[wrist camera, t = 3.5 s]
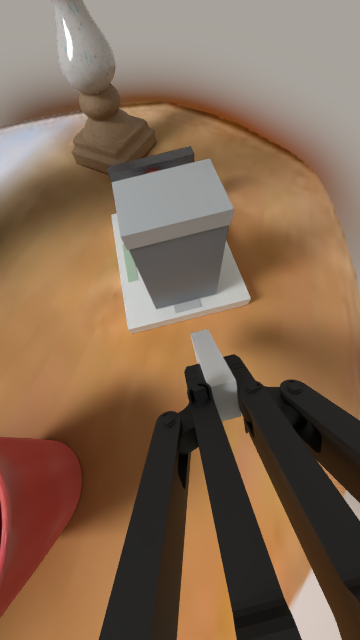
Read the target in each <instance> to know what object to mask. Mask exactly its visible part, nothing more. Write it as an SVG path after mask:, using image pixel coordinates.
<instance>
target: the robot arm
mask: <svg viewBox="0 0 360 640" xmlns="http://www.w3.org/2000/svg"><path fill="white" fill-rule="evenodd" d="M190 334H191V339H192V343H193V347H194V351H195V356H196V360H197V363H198V364H196V365H192V366H188V367H186V369H185V372H184V373H185V378H186V383H187V388H188V390H187V394H188V398H189V404H188V406H187V407H186V408H185V409H184V410H182V411H181V412H179V413H176V412H175V411H168V412H165V413H163V414H161V415H160V416H159V418H158V419H157V421H156V425H155V428H154V432H153V436H152V440H151V444H150V447H149V451H148V455H147V459H146V463H145V466H144V470H143V474H142V478H141V481H140V485H139V489H138V493H137V497H136V500H135V504H134V508H133V512H132V516H131V519H130V523H129V527H128V531H127V535H126V538H125V542H124V546H123V550H122V554H121V557H120V561H119V565H118V569H117V572H116V576H115V580H114V584H113V588H112V591H111V595H110V599H109V603H108V607H107V610H106V614H105V618H104V622H103V626H102V629H101V633H100V637H99V640H177V627H178V614H179V601H180V588H181V575H182V562H183V549H184V535H185V522H186V509H187V496H188V483H189V470H190V457H191V452H192V451H193V450H195V449H196V448H198V447H199V449H200V454H201V459H202V464H203V469H204V474H205V479H206V484H207V489H208V494H209V499H210V504H211V508H212V513H213V518H214V523H215V528H216V533H217V538H218V543H219V548H220V553H221V558H222V563H223V567H224V572H225V577H226V582H227V587H228V592H229V597H230V602H231V607H232V612H233V618H234V624H235V631H236V637H237V640H302V639H301V637H300V634H299V631H298V629H297V626H296V624H295V621H294V619H293V616H292V614H291V612H290V610H289V608H288V606H287V603H286V601H285V599H284V596H283V593H282V590H281V588H280V585H279V582H278V579H277V576H276V574H275V571H274V568H273V565H272V562H271V560H270V557H269V554H268V551H267V548H266V545H265V543H264V540H263V537H262V534H261V531H260V528H259V526H258V523H257V520H256V517H255V514H254V512H253V509H252V506H251V503H250V500H249V497H248V495H247V492H246V489H245V486H244V483H243V480H242V478H241V475H240V472H239V469H238V466H237V464H236V461H235V458H234V455H233V452H232V449H231V447H230V444H229V441H228V438H227V435H226V433H225V430H224V427H223V424H222V421H224V420H228V419H232V418H236V417H240V416H241V413H242V415H243V417H244V424H245V431H246V433H248V432H249V434H250V437H251V439H252V441H253V443H254V445H255V447H256V449H257V452H258V454H259V456H260V458H261V460H262V462H263V464H264V467H265V469H266V471H267V473H268V475H269V477H270V479H271V482H272V484H273V486H274V488H275V490H276V492H277V494H278V497H279V499H280V501H281V503H282V505H283V507H284V509H285V512H286V514H287V516H288V518H289V520H290V522H291V524H292V527H293V529H294V531H295V533H296V535H297V537H298V539H299V542H300V544H301V546H302V548H303V550H304V552H305V554H306V557H307V559H308V561H309V563H310V565H311V567H312V569H313V572H314V574H315V576H316V578H317V580H318V582H319V585H320V587H321V589H322V591H323V593H324V595H325V597H326V600H327V602H328V604H329V606H330V608H331V610H332V613H333V615H334V617H335V620H336V622H337V625H338V628H339V632H340V635H341V638H342V640H360V521H359V519H358V518H357V516H356V515H355V514H354V512H353V511H352V509H351V508H350V507H349V505H348V504H347V502H346V501H345V500H344V498H343V497H342V495H341V494H340V493H339V491H338V490H337V488H336V487H335V486H334V484H333V483H332V481H331V480H330V479H329V477H328V476H327V474H326V473H325V472H324V470H323V469H322V467H321V466H320V465H319V463H320V464H321V465H322V466H323V467H324V468H325V469H326V470H327V471H328V472H329V473H330V474H331V475H332V476H333V477H334V478H335V479H336V480H337V481H338V482H339V483H340V484H341V485H342V486H343V487H344V488H345V489H346V490H347V491H348V492H349V493H350V494H351V495H352V496H353V497H354V498H355V499H356V500H357V501H358V502H360V421H359V420H358V419H356V418H355V417H353V416H352V415H350V414H349V413H347V412H346V411H344V410H343V409H341V408H340V407H338V406H337V405H335V404H334V403H332V402H331V401H330V400H328V399H327V398H325V397H324V396H322V395H321V394H319V393H318V392H316V391H315V390H313V389H312V388H310V387H309V386H307V385H306V384H304V383H302V382H300V381H297V380H286V381H283V382H282V383H281V385H280V387H266V386H263V385H262V384H261V383H260V382H257V381H255V379H254V378H253V376H252V375H251V373H250V372H249V371H248V369H247V368H246V367H245V365H244V363H243V362H242V360H241V359H240V357H238V356H236V355H234V354H233V355H229V356H225V357H223V356H222V354H221V352H220V351H219V349H218V347H217V345H216V343H215V342H214V340H213V338H212V336H211V334H210V332H209V331H208V329H206V330H202V331H198V332H194V333H190ZM240 411H241V412H240ZM317 461H318V462H319V463H318V462H317Z"/></svg>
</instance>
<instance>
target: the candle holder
mask: <svg viewBox="0 0 360 640" xmlns="http://www.w3.org/2000/svg"><path fill="white" fill-rule="evenodd" d="M51 1H52V3H53V7H54V12H55V19H56V30H57V55H58V60H59V65H60V68H61V71H62V73H63V76H64V77H65V79H66V80H67V82H68V83H69V84H70V85H71V86H72V87H74V88H75V89H77V90H79V91H80V97H79V102H80V107H81V109H82V111H83V112H84V113H85V114H86V115H87V116H88V117H89V118H88V119H87V121H86V123H85V127H84V128H83V129H82V130H81V131H80V132H79V133H78V134H77V135H76V136H75V137H74V139H73V143H74V145H75V148H74V149H73V150H72V154H73V156H74V158H75V160H76V162H77V163H78V164H80V165H82V166H85V167H88V168H91V169H94V170H97V171H100V172H103V173H106V174H108V168H107V167H108V166H112V165H116V164H120V163H124V162H128V161H132V160H137V159H141V158H143V157H144V156H145V155H146V154H147V153H148V152H149V151H150V150H151V149H152V147H153V146H154V145H155V144H156V137H155V131H154V130H153V129H150V128H149V127H148V125H147V122H146V121H145V120H144V119H141V118H137V117H133V116H130V115H128V114H127V113H126V112H124V111H123V110H121V109H119V107H120V96H119V93H118V91H117V90H116V88H115V87H114V86H113V85H112V84H111V81H112V79H113V77H114V73H115V59H114V55H113V52H112V49H111V47H110V45H109V43H108V42H107V40H106V38H105V36H104V35H103V33H102V32H101V30H100V29H99V27H98V26H97V25H96V23H95V22H94V20H93V19H92V17H91V16H90V14H89V12H88V10H87V8H86V6H85V5H84V2H83V0H51Z"/></svg>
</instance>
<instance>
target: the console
mask: <svg viewBox="0 0 360 640" xmlns="http://www.w3.org/2000/svg"><path fill="white" fill-rule="evenodd" d="M193 162H194V152H193V150H192V148H191V146H190V147H186V148H182V149H178V150H173V151H169V152H165V153H161V154H157V155H153V156H149V157H145V158H141V159H137V160H132V161H128V162H124V163H120V164H116V165H112V166H108V167H107V168H108V174H109V177H110V180H111V182H115V181H119V180H123V179H127V178H131V177H136V176H140V175H144V174H148V173H152V172H156V171H160V170H164V169H168V168H172V167H176V166H180V165H185V164H189V163H193ZM111 217H112V224H113V231H114V237H115V244H116V251H117V257H118V264H119V271H120V278H121V284H122V291H123V298H124V305H125V311H126V318H127V325H128V330H129V331H130V332H131V333H132V334H133V333H137V332H141V331H145V330H149V329H153V328H157V327H161V326H165V325H169V324H173V323H177V322H181V321H185V320H189V319H193V318H196V317H200V316H204V315H208V314H212V313H216V312H220V311H224V310H228V309H232V308H236V307H240V306H244V305H248V303H249V301H250V299H251V298H250V295H249V293H248V291H247V288H246V286H245V283H244V281H243V279H242V276H241V274H240V272H239V269H238V267H237V265H236V262H235V260H234V257H233V255H232V253H231V250H230V248H229V246H228V243H227V241H226V243H225V249H224V255H223V260H222V266H221V271H220V277H219V283H218V288H217V294H214V295H210V296H206V297H202V298H198V299H194V300H190V301H187V302H183V303H179V304H175V305H171V306H167V307H163V308H159V309H156V308H155V306H154V303H153V301H152V299H151V297H150V295H149V293H148V290H147V288H146V286H145V284H144V282H143V280H142V278H141V275H140V273H139V271H138V269H137V267H136V265H135V262H134V260H133V258H132V256H131V254H130V252H129V250H127V249H126V247H125V245H124V243H123V241H122V239H121V236H120V230H119V224H118V218H117V213H116V214H112V215H111Z"/></svg>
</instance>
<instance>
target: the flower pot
mask: <svg viewBox="0 0 360 640" xmlns="http://www.w3.org/2000/svg"><path fill="white" fill-rule="evenodd" d="M81 489H82V472H81V467H80V463H79V461H78V458H77V456H76V455H75V453H74V452H73V451H72V450H71V449H70V448H69V447H68V446H67V445H66V444H64V443H62V442H59V441H55V440H43V439H30V438H5V437H0V617H1V616H2V615H3V613H4V612H5V610H6V609H7V608H8V606H9V605H10V604H11V602H12V601H13V600H14V598H15V597H16V595H17V594H18V593H19V591H20V590H21V589H22V587H23V586H24V585H25V583H26V582H27V581H28V579H29V578H30V577H31V575H32V574H33V572H34V571H35V570H36V568H37V567H38V566H39V564H40V563H41V561H42V560H43V559H44V557H45V556H46V554H47V553H48V552H49V550H50V549H51V547H52V546H53V545H54V543H55V542H56V540H57V539H58V537H59V536H60V534H61V533H62V531H63V530H64V528H65V527H66V525H67V524H68V522H69V521H70V519H71V517H72V515H73V514H74V512H75V509H76V507H77V504H78V501H79V498H80V494H81Z"/></svg>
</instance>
